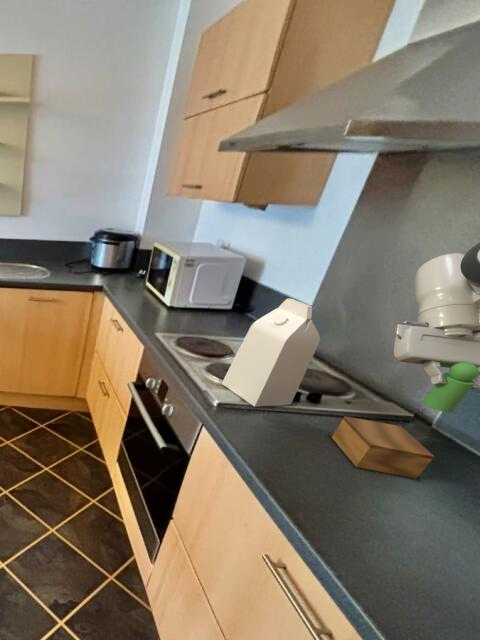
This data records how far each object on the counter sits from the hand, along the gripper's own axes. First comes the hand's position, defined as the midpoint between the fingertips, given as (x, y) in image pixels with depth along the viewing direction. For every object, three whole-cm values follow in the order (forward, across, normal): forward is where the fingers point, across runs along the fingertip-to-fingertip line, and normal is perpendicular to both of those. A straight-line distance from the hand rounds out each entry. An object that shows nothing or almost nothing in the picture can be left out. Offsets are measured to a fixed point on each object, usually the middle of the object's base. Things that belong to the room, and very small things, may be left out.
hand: (456, 386), depth 86 cm
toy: (+3, 0, +4) cm, 5 cm away
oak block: (+16, -11, +8) cm, 21 cm away
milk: (0, -26, +25) cm, 36 cm away
